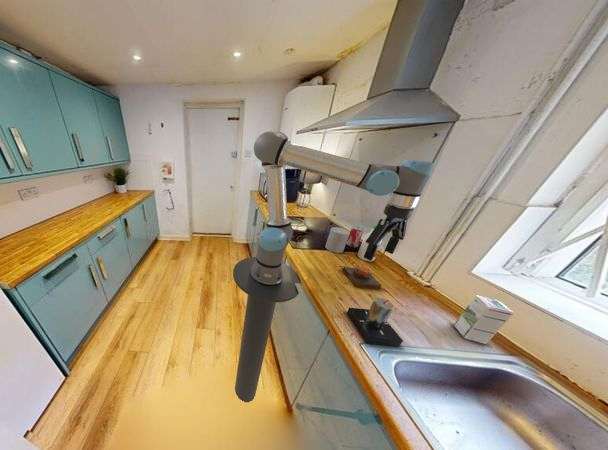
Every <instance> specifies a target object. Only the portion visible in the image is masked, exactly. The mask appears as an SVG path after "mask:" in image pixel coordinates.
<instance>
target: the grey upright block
mask: <svg viewBox="0 0 608 450" xmlns="http://www.w3.org/2000/svg"><path fill="white" fill-rule="evenodd" d="M368 309H369V311H368V313H367V315H366V317H365V320H366V322H367V323H368V324H369V325H370V326H372V327H374V328H377V329H382V328H383V327H384V325H385V323H386V321H387V322H388V319H389V318H390V316H391V314H392V313H393V311H394V309H395V306H394V304H393V303H392V302H391V301H390V300H389V299H385V298H383V297H375V298H374V300H373V301H372V303H371V305H370V307H369V308H368Z"/></svg>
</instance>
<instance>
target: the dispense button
mask: <svg viewBox="0 0 608 450" xmlns="http://www.w3.org/2000/svg"><path fill="white" fill-rule="evenodd" d="M358 268H359V269H358V271H357V272H358V273H359V274H361V275H364V276H367V275H368V273H369V272H370V269H368V268H366V267H363V266H359V267H358Z"/></svg>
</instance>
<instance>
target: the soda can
mask: <svg viewBox="0 0 608 450" xmlns="http://www.w3.org/2000/svg"><path fill="white" fill-rule="evenodd" d="M349 232H350V234H349V237H348V240H347V242H346V245H347V246H348V247H351V248H358V247H359V244H360V242H361V239H362V237H363V234H364V228H362V227H360V226H352V227H351V228H350V230H349Z"/></svg>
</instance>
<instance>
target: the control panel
mask: <svg viewBox="0 0 608 450" xmlns="http://www.w3.org/2000/svg"><path fill="white" fill-rule="evenodd" d="M369 309H370V308H368V309H367V308H358V307H348V309H347V312H346V314H347V316H348V317H349V319H350V320H351V322H352V324H353V325H354V327H355V328H356V330H357V331H358V333H359V335H360V336H361V338H362V339H363V341H364V342H365V344H370V345H378V346H387V347H388V346H389V347H397V348H400V347H401V345H402V343H403V342H404V340H403V339H402V337H401V336H400V335H399V333H398V332H397V331H396V330H395V329H394V328H393V327H392V326H391V324H390V323H389V322H388V320H387V321H386V323H385V325H384V327H383V328H382V329H377V328H374V327H372V326H370V325H369V324H368V323H367V322H366V320H365V317H366V315H367V313H368V311H369Z"/></svg>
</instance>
